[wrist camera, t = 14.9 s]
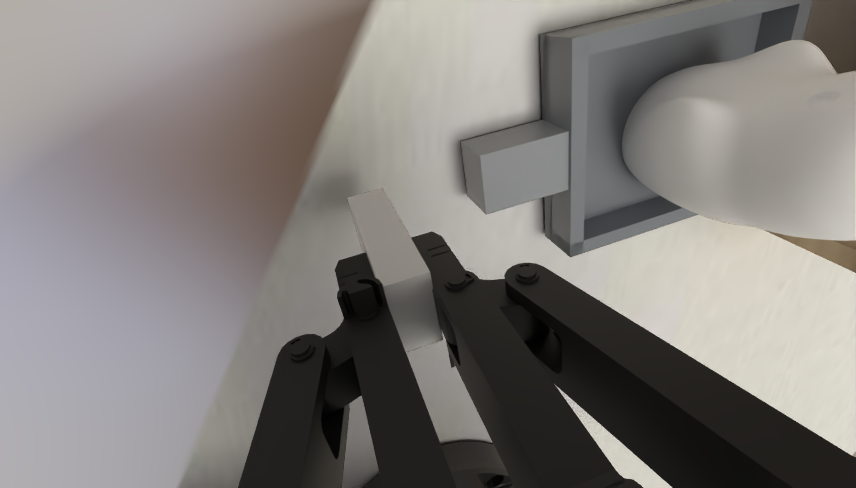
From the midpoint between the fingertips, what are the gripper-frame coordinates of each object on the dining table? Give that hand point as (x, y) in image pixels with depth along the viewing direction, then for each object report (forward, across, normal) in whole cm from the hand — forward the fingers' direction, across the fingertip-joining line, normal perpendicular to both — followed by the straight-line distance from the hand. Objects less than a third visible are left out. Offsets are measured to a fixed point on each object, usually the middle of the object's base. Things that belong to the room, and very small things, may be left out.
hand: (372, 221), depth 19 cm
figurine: (+3, +17, 0) cm, 17 cm away
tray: (+3, +14, 0) cm, 15 cm away
